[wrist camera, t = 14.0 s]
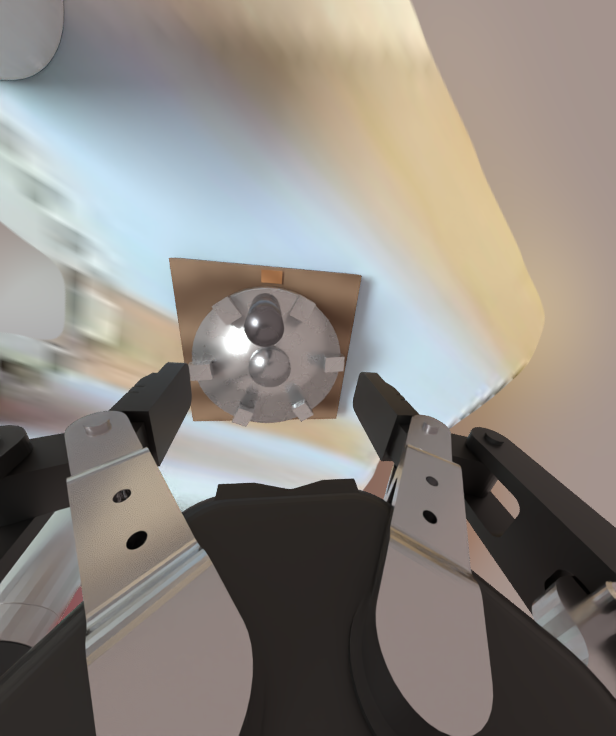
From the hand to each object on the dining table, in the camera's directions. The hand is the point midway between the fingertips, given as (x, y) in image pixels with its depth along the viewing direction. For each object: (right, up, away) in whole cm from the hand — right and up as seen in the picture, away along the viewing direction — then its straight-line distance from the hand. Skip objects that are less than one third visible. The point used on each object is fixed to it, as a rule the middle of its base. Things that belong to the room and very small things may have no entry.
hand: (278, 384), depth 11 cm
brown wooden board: (-4, +3, +22) cm, 23 cm away
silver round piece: (-4, +2, +20) cm, 21 cm away
